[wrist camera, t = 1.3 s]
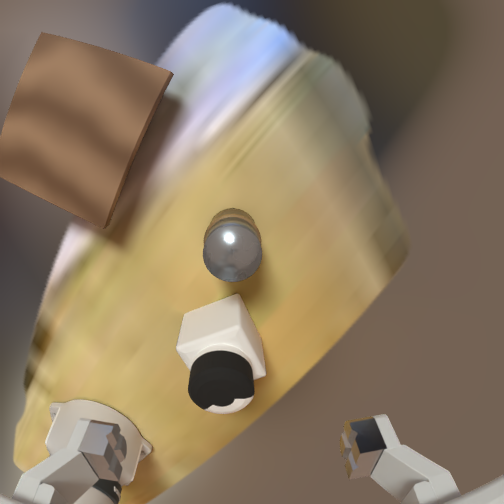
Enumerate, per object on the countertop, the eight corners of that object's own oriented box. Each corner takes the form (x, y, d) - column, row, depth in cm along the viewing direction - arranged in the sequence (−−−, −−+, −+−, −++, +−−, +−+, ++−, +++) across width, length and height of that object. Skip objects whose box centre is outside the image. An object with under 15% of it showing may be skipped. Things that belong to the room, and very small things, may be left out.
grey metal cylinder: (244, 263, 36) (246, 293, 29) (198, 243, 34) (190, 268, 28) (267, 220, 34) (275, 240, 27) (220, 197, 33) (216, 213, 26)
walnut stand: (116, 218, 33) (103, 228, 29) (10, 167, 30) (-9, 172, 26) (178, 79, 28) (170, 71, 25) (58, 40, 25) (41, 32, 21)
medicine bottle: (182, 313, 37) (166, 381, 26) (238, 291, 37) (241, 357, 25) (209, 357, 40) (204, 428, 28) (262, 338, 39) (272, 409, 28)
